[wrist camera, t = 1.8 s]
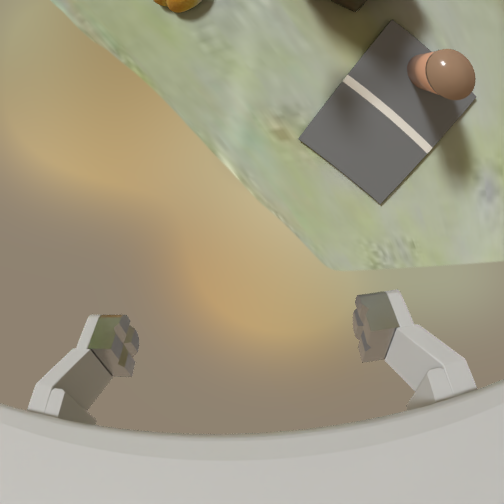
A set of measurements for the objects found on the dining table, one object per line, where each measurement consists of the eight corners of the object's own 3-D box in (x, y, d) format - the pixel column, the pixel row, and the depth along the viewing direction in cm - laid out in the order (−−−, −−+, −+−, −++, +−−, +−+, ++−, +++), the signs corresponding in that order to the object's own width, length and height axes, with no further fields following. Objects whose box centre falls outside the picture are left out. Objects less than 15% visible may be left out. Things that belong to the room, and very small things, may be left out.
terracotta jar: (420, 45, 30) (446, 38, 20) (450, 72, 30) (484, 76, 21) (398, 72, 33) (417, 73, 23) (428, 98, 33) (455, 110, 24)
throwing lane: (391, 20, 30) (392, 19, 29) (474, 96, 31) (476, 96, 30) (298, 138, 43) (298, 138, 42) (379, 202, 44) (380, 204, 43)
